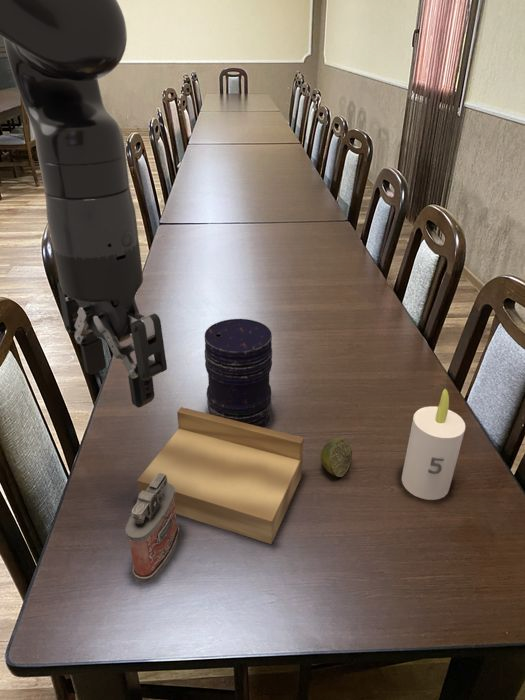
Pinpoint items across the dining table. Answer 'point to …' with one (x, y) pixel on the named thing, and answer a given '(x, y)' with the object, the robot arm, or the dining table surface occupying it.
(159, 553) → the lighter
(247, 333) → the dark blue cylinder
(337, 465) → the lime
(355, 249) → the dining table surface
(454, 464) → the candle
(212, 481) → the shelf
